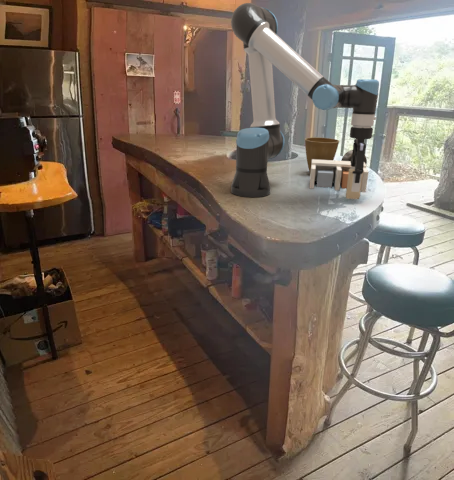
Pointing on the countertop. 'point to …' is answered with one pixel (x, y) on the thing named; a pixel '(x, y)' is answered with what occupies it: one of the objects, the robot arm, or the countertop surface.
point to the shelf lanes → (335, 172)
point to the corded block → (349, 184)
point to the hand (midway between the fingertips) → (353, 187)
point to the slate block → (324, 178)
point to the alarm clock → (349, 155)
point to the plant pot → (320, 149)
